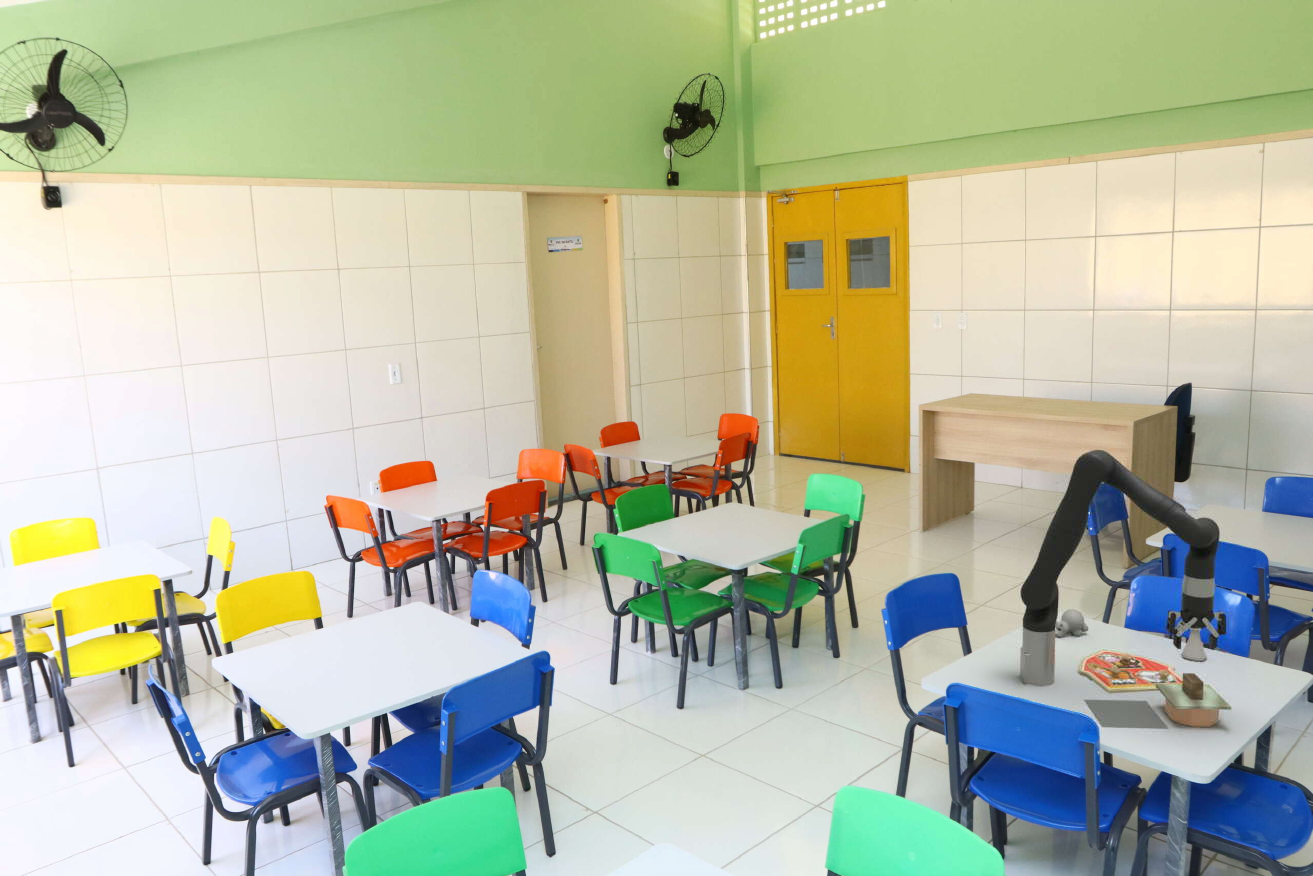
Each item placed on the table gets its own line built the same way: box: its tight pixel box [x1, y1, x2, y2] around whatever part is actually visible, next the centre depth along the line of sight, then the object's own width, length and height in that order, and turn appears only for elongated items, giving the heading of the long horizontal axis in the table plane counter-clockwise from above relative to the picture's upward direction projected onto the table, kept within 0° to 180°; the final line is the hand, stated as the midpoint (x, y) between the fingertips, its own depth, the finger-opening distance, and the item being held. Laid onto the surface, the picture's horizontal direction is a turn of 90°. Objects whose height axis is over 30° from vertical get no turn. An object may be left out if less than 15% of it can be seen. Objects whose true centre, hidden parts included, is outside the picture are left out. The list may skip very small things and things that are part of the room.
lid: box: [1156, 672, 1232, 711], centre depth 257 cm, size 14×14×6 cm
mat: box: [1083, 699, 1169, 730], centre depth 262 cm, size 17×17×1 cm
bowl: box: [1164, 698, 1220, 728], centre depth 258 cm, size 12×12×6 cm
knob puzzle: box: [1078, 649, 1183, 694], centre depth 290 cm, size 29×30×4 cm
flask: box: [1180, 628, 1208, 662], centre depth 297 cm, size 7×7×10 cm
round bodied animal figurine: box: [1055, 608, 1089, 638], centre depth 320 cm, size 7×12×8 cm, turn 106°
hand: (1194, 648), depth 255 cm, fingers open, 8 cm apart
